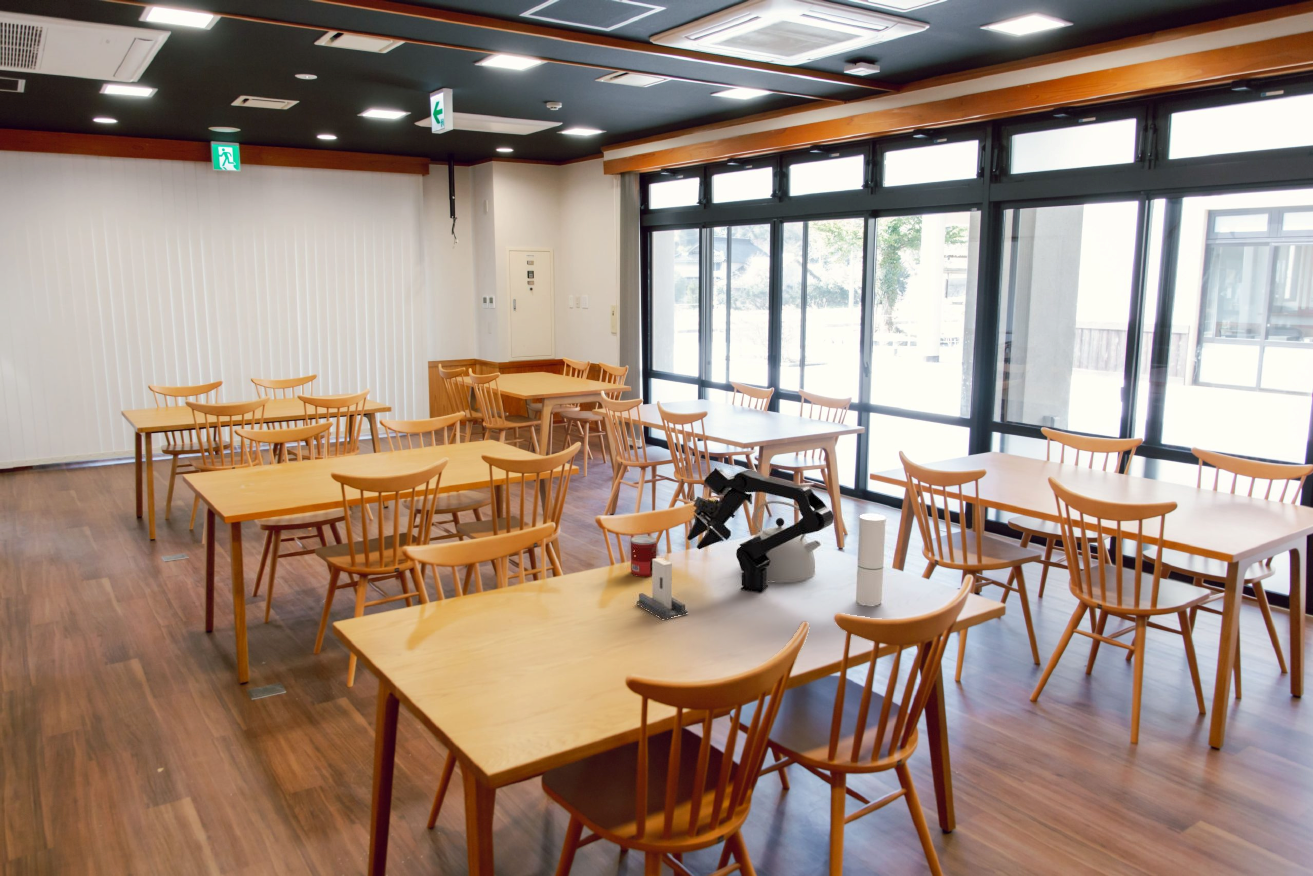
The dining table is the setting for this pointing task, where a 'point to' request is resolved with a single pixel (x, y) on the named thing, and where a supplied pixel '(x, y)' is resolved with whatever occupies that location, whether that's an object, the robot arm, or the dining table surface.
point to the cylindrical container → (870, 559)
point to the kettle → (788, 553)
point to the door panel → (662, 581)
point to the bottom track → (661, 607)
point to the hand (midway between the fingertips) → (692, 543)
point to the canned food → (642, 555)
